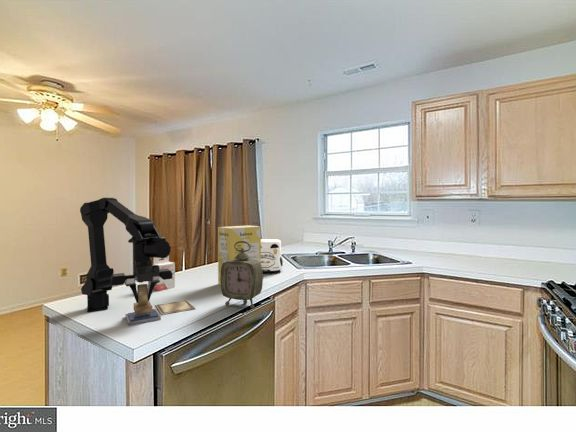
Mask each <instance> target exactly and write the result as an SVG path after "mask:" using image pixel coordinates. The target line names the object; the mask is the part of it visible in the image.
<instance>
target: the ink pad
mask: <svg viewBox="0 0 576 432" xmlns="http://www.w3.org/2000/svg"><path fill="white" fill-rule="evenodd" d="M161 316H162V315H161V314H160V312H159V310H158V309H157V308H152V313H146V314H140V315H136V314H135V311H134V312H133V311H132V312H128V313H125V320H126V324H127V325H128V326H133V325H138V324H144V323H150V322H154V321H161V320H162V317H161Z"/></svg>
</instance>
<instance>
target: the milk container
mask: <svg viewBox="0 0 576 432" xmlns="http://www.w3.org/2000/svg"><path fill="white" fill-rule="evenodd" d="M283 262H284V261H283V258H282V241H281V240H280V239H275V238H272V239H271V238H270V239H269V238H263V239H262V238H261V265H262V271H263V273H276V272H280V271H281V270H282V269H283V266H284V265H283V264H284V263H283Z"/></svg>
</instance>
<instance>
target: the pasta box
mask: <svg viewBox="0 0 576 432" xmlns="http://www.w3.org/2000/svg"><path fill="white" fill-rule="evenodd" d="M261 227H262V226H261V225H260V226H259V225H258V226H257V225H234V226H232V225H231V226H218V227H217V267H218V269H217V271H218V272H217V274H218V276H217V277H218V278H217V279H218V280H217V281H218V282H217V283H218V285H219V284H220V286H221V280H220V277H221V267H222V264H223V263H225V262H227V261H230V260H233V259H236V256H237V254H239V253H241V252H239V251H237V250H236V249H238V250H241V248H243V249H244V250H248V249H249V248H250V247H249V245H248V244H246V243H238V244H236V246H235V247H236V249H235V248H234V245H235V243H236V242H238V241H245V242H248V243H249V244H250V246H251V248H250V250H249V251H247V252H244V253H246V254H247V255H248V256H249V259H254V260H258V261H259V262H260V263H261V239H262V238H261V237H262V228H261Z"/></svg>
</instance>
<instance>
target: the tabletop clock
mask: <svg viewBox="0 0 576 432" xmlns="http://www.w3.org/2000/svg"><path fill="white" fill-rule="evenodd" d="M238 243H246V244H248V245H249V247H250V248H251V246H250V244H249V243H248V242H245V241H238V242H236V243H235V245H234V248H235V249H236V247H235V246H236V244H238ZM250 248H249V249H248V250H244V249H243V248H241V250H238V249H236V250H237V251H239V252H241V253H239V254H237V256H236V259H233V260H230V261H227V262H225V263H223V264H222V267H221V277H220V280H221V285H220V288H221V294H222V296H223V297H225V298H227V299H228V300H227V301H225V303H224V305H225V306H228V307H229V305H230V301H231V300H237V301H238V300H239V301H242V303H243V304H247V303H248V301H249V302H250V309H252V310H253V309H255V308H256V307H255V304H253V299H254V298H256V297H257V296H259V295H260V294H261V292H262V290H263V283H264V275H263V274H264V272H263V271H262V265H261V263H260V262H259V261H258V260H254V259H249V256H248V255H247V254H246V253H244V252H247V251H249V250H250Z"/></svg>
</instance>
